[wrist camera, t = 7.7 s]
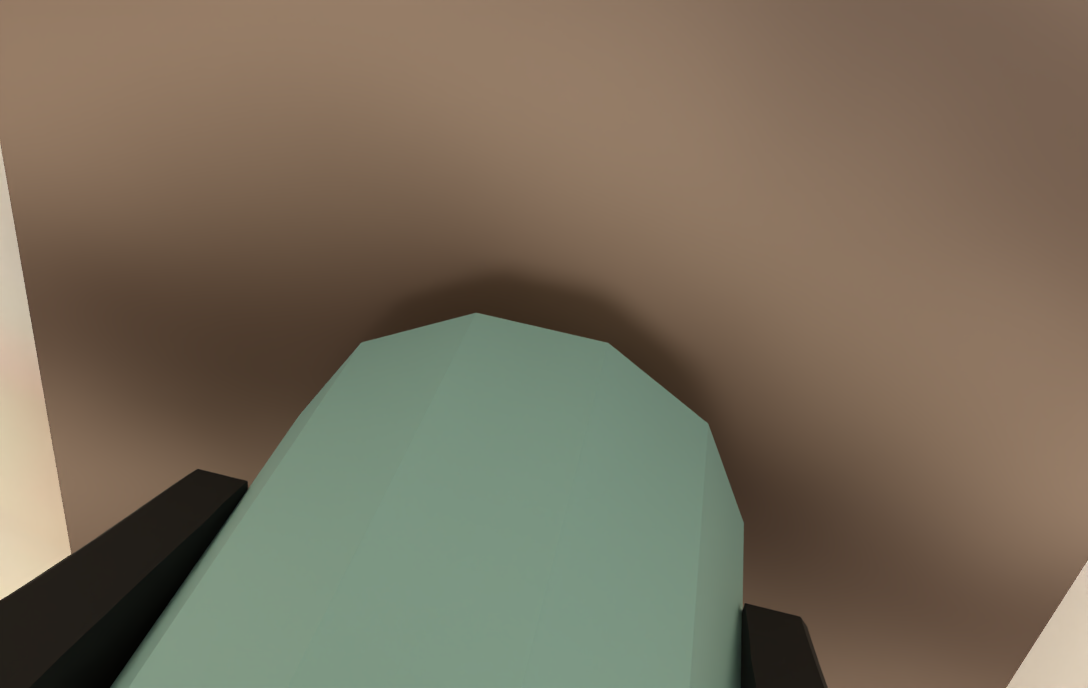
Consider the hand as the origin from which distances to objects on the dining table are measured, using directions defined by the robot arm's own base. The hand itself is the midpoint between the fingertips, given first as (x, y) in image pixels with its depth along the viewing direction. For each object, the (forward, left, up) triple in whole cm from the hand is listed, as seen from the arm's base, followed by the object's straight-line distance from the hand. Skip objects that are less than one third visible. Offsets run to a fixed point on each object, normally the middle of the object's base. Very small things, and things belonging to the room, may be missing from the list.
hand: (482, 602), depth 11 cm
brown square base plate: (0, 0, -4) cm, 4 cm away
